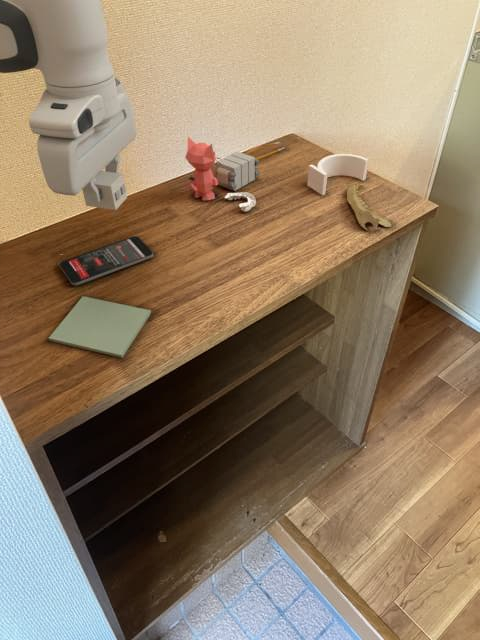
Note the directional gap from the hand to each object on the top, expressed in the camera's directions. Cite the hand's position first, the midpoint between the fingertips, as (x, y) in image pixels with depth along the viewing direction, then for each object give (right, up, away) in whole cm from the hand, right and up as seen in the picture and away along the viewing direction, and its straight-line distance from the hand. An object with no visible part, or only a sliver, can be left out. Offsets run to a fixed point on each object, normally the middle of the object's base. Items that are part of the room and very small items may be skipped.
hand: (104, 192), depth 79 cm
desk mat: (-1, -20, +1) cm, 20 cm away
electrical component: (+24, +18, +34) cm, 46 cm away
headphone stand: (+36, +10, +29) cm, 47 cm away
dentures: (+21, +4, +27) cm, 34 cm away
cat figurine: (+13, +6, +29) cm, 32 cm away
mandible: (+42, +6, +24) cm, 48 cm away
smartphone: (-3, -9, +13) cm, 16 cm away
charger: (0, -1, +1) cm, 2 cm away
